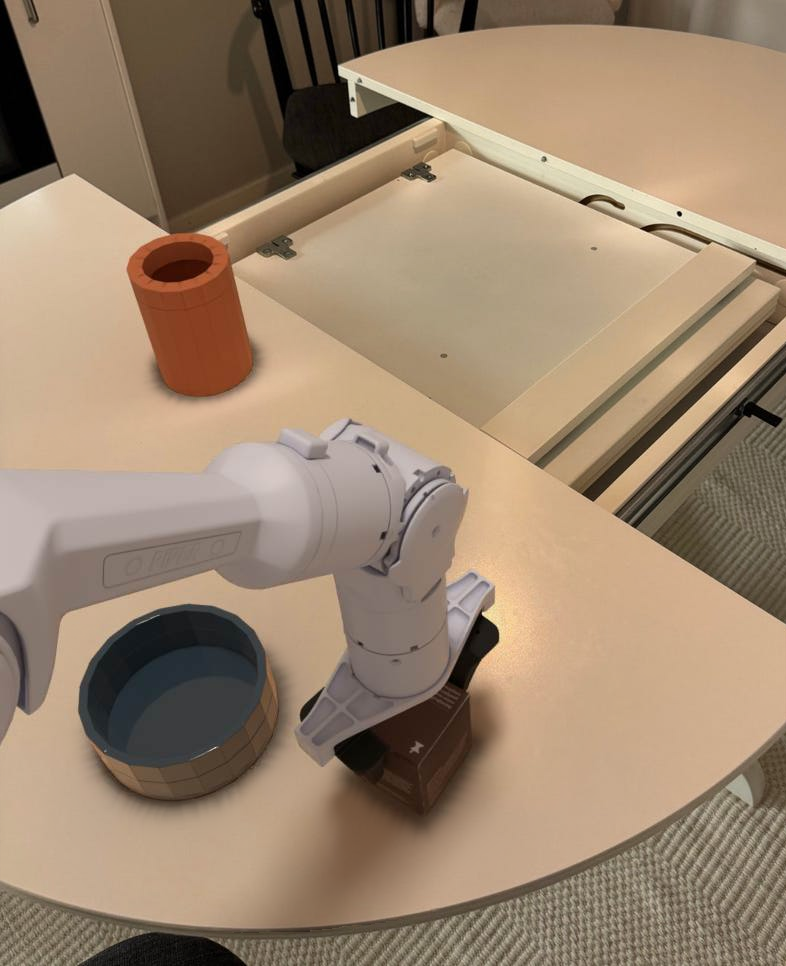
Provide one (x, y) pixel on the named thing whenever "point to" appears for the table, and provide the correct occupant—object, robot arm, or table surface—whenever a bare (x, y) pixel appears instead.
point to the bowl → (179, 701)
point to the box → (425, 747)
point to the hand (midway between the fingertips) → (409, 728)
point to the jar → (192, 312)
